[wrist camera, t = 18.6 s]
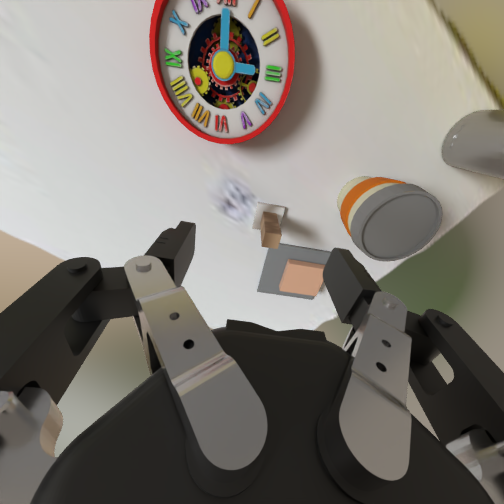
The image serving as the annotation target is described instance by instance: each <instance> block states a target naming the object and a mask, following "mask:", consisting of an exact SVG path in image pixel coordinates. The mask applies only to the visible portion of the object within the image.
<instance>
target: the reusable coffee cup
mask: <svg viewBox="0 0 504 504" xmlns="http://www.w3.org/2000/svg"><path fill="white" fill-rule="evenodd" d="M337 205H338V208H339V211H340V214H341V219H342V222H343V224H344V226H345V228H346V230H347V232H348V234H349V235H350V236H351V238H352V240H353V242H354V244H355V245H356V246H357V247H358V248H359V249H360V250H361V251H362V252H364V253H365V254H366V255H367V256H368V257H370V258H372V259H374V260H378V261H395V260H399V259H403V258H405V257H408V256H410V255H412V254H414V253H416V252H417V251H419V250H420V249H422V248H423V247H424V246H425V245H426V244H427V243H428V242H430V240H431V239H432V238H433V237H434V236H435V234H436V232H437V231H438V229H439V227H440V224H441V221H442V207H441V205H440V203H439V201H438V200H437V199H436V198H435V197H434V196H433V195H431V194H429V193H428V192H426V191H425V190H423V189H422V188H420V187H419V186H416V185H413V184H406V183H405V182H401V181H398V180H393V179H388V178H383V177H375V178H372V177H365V176H363V177H358V178H355V179H353V180H351V181H349V182H348V183H347V184H346V185H345V186H344V187H343V188H342V189H341V191H340V193H339V195H338V199H337Z"/></svg>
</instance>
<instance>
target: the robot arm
mask: <svg viewBox="0 0 504 504" xmlns="http://www.w3.org/2000/svg"><path fill="white" fill-rule="evenodd" d="M442 157H443V159H444V161H445V162H446V163H447V164H448V165H450V166H454V167H458V168H462V169H466V170H469V171H473V172H477V173H481V174H485V175H489V176H493V177H497V178H501V179H504V110H481V111H476V112H473V113H471V114H469V115H467V116H466V117H464V118H462V119H461V120H460V121H459V122H458V123H456V124H455V126H454V127H453V128H452V129H451V130H450V132H449V133H448V134H447V136H446V138H445V140H444V143H443V146H442ZM195 232H196V225H195V223H190V222H184V221H181V222H180V223H179V225H178V226H177V228H176V229H173V228H169V229H167V230H165V231H163V232H162V233H161V234H160V236H159V237H158V238H157V239H156V241H155V242H154V243H153V245H152V246H151V247H150V248H149V250H148V251H147V252H146V253H145V255H144V256H138V257H134V258H132V259H130V260H128V261H127V262H126V263H125V265H124V267H113V268H101V265H100V262H99V261H98V260H96V259H94V258H90V257H79V258H73V259H69V260H67V261H64V262H62V263H60V264H59V265H57V266H56V267H55V268H54V269H53V270H51V271H50V272H49V273H48V274H47V275H45V276H44V277H43V278H42V279H41V280H40V281H38V282H37V283H36V284H35V285H34V286H32V287H31V288H30V289H29V290H28V291H26V292H25V293H24V294H23V295H22V296H21V297H19V298H18V299H17V300H16V301H14V302H13V303H12V304H11V305H10V306H9V307H7V308H6V309H5V310H4V311H3V312H1V313H0V504H504V373H503V372H502V371H501V370H500V368H499V367H498V366H497V365H496V364H495V363H494V362H493V361H492V360H491V359H490V358H489V357H488V355H487V354H486V353H485V352H484V351H483V350H482V349H481V348H480V347H479V346H478V345H477V344H476V343H475V341H474V340H473V339H472V338H471V337H470V336H469V335H468V334H467V333H466V332H465V331H464V330H463V329H462V327H460V325H459V324H458V323H457V322H456V321H454V320H453V319H452V318H451V317H449V316H448V315H446V314H444V313H442V312H440V311H437V310H434V309H428V310H426V311H425V312H424V313H423V315H422V316H420V315H418V314H415V313H412V312H410V311H407V308H406V306H405V305H404V303H403V302H402V301H400V300H399V299H398V298H397V297H395V296H393V295H391V294H389V293H386V292H382V291H381V290H380V288H379V287H378V285H377V284H376V283H375V281H374V280H373V279H372V277H371V276H370V274H369V273H368V272H367V270H366V269H365V268H364V266H363V265H362V264H361V263H359V262H358V261H357V260H356V259H355V258H354V257H353V255H352V254H351V252H350V251H349V250H346V249H340V248H334V249H333V250H332V252H331V254H330V256H329V258H328V260H327V263H326V265H325V267H324V269H323V280H324V282H325V285H326V287H327V289H328V292H329V294H330V296H331V299H332V301H333V303H334V306H335V308H336V311H337V313H338V315H339V318H340V320H341V322H342V323H346V324H352V325H353V327H352V328H351V330H350V331H349V333H348V336H347V338H346V340H345V343H344V345H343V347H342V348H341V347H339V346H337V345H335V344H334V343H332V342H329V341H327V340H326V337H325V334H324V332H321V331H313V330H306V329H295V330H286V331H275V330H272V329H269V328H266V327H263V326H260V325H258V324H255V323H252V322H245V321H237V320H229V319H227V324H226V327H221V328H217V329H213V330H210V328H209V327H208V325H207V324H206V322H205V320H204V319H203V317H202V316H201V314H200V312H199V311H198V309H197V308H196V306H195V304H194V303H193V301H192V299H191V298H190V296H189V295H188V293H187V291H186V290H185V288H184V287H183V286H181V284H182V281H183V279H184V277H185V274H186V272H187V270H188V268H189V265H190V263H191V261H192V258H193V255H194V250H195ZM130 316H132V317H133V319H134V323H135V325H136V328H137V332H138V334H139V337H140V340H141V343H142V346H143V349H144V353H145V357H146V361H147V365H148V368H149V371H150V375H151V376H150V377H149V378H147V379H146V380H145V381H144V382H143V383H142V384H140V385H139V386H138V387H137V388H135V389H134V390H133V391H132V392H131V393H129V394H128V395H127V396H126V397H125V398H123V399H122V400H121V401H120V402H119V403H117V404H116V405H115V406H114V407H112V408H111V409H110V410H109V411H108V412H107V413H105V414H104V415H103V416H102V417H100V418H99V419H98V420H97V421H95V422H94V423H93V424H92V425H91V426H89V427H88V428H87V429H86V430H85V431H83V432H82V433H81V434H80V435H79V436H77V437H76V438H75V439H74V440H73V441H72V442H71V443H70V444H69V446H67V447H66V449H65V450H64V451H63V452H62V453H61V454H60V456H59V457H58V458H56V457H55V456H54V449H55V444H56V441H57V438H58V436H59V433H60V431H61V429H62V425H63V416H62V413H61V411H60V410H59V408H58V407H57V404H58V402H59V401H60V399H61V397H62V396H63V394H64V393H65V391H66V390H67V388H68V386H69V384H70V383H71V381H72V380H73V378H74V377H75V375H76V374H77V372H78V370H79V369H80V367H81V365H82V364H83V362H84V361H85V359H86V357H87V356H88V354H89V352H90V351H91V349H92V348H93V346H94V345H95V343H96V341H97V340H98V338H99V337H100V335H101V333H102V332H103V330H104V329H105V327H106V325H107V324H108V322H109V321H110V319H114V318H122V317H130ZM440 353H441V354H442V355H443V356H444V358H445V359H446V360H447V362H448V363H449V365H450V366H451V367H452V369H453V372H454V379H453V381H452V382H451V383H449V384H448V385H447V383H446V382H445V381H444V379H443V378H442V376H441V375H440V373H439V372H438V370H437V369H436V367H435V366H434V364H433V363H432V360H433V359H434V358H436V357H437V356H438V355H439V354H440ZM408 382H409V384H410V386H411V388H412V389H413V392H414V393H415V395H416V397H417V399H418V401H419V403H420V405H421V407H422V408H423V410H424V412H425V414H426V416H427V418H428V420H429V421H430V423H431V425H432V427H433V429H434V431H435V433H436V435H437V437H438V438H439V440H440V441H439V440H438V439H437V438H436V437H435V436H434V435H433V434H432V433H431V432H430V431H429V430H428V429H427V428H425V427H424V426H423V425H422V424H421V423H420V422H419V421H418V420H417V419H416V418H415V417H414V416H413V415H412V414H411V413H410V412H409V410H408V409H407V407H406V398H407V386H408Z"/></svg>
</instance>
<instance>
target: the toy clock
mask: <svg viewBox="0 0 504 504" xmlns="http://www.w3.org/2000/svg"><path fill="white" fill-rule="evenodd" d="M149 38H150V56H151V62H152V68H153V72H154V75H155V79H156V82H157V85H158V87H159V90H160V92H161V94H162V96H163V99H164V100H165V102H166V104H167V105H168V107H169V108H170V110H171V112H172V113H173V114H174V115H175V116H176V118H177V119H178V120H179V121H180V122H181V123H182V124H183V125H184V126H185V127H186V128H187V129H188V130H190V131H191V132H193V133H194V134H196V135H197V136H199V137H201V138H203V139H206V140H208V141H211V142H215V143H219V144H234V143H240V142H244V141H246V140H249V139H251V138H253V137H255V136H256V135H258V134H260V133H261V132H262V131H263V130H265V129H266V128H267V127H268V126H269V125H270V124H271V123H272V121H273V120H274V119H275V118H276V117H277V115H278V113H279V112H280V110H281V108H282V107H283V105H284V103H285V100H286V98H287V95H288V93H289V90H290V86H291V82H292V78H293V72H294V62H295V45H294V36H293V30H292V24H291V21H290V18H289V14H288V11H287V8H286V6H285V3H284V1H283V0H156V1H155V5H154V9H153V13H152V17H151V25H150V34H149Z"/></svg>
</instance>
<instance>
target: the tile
mask: <svg viewBox="0 0 504 504" xmlns="http://www.w3.org/2000/svg"><path fill="white" fill-rule="evenodd" d="M324 267H325V265H322V264H316V263H310V262H304V261H298V260H291V259H288V261H287V264H286V267H285V270H284V272H283V275H282V278H281V281H280V284H279V289H280V291H284V292H290V293H297V294H304V295H311V296H316V295H317V293H318V291H319V289H320V287H321V285H322V283H323V281H324V280H323V269H324Z"/></svg>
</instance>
